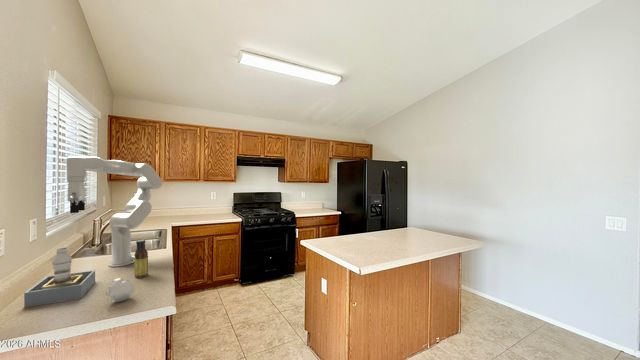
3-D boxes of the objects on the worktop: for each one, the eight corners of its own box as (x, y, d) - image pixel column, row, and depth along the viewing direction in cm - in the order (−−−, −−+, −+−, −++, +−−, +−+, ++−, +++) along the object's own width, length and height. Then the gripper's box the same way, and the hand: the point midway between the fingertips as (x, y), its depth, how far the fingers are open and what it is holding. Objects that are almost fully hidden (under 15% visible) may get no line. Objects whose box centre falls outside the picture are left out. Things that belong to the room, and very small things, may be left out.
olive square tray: (83, 284, 127) (83, 274, 127) (74, 293, 118) (74, 282, 117) (52, 288, 122) (52, 278, 122) (41, 298, 112) (41, 287, 112)
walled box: (95, 281, 133) (95, 270, 133) (81, 298, 115) (81, 284, 115) (47, 288, 125) (47, 276, 124) (24, 307, 107) (24, 293, 107)
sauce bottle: (139, 274, 143) (138, 238, 143) (150, 273, 144) (150, 238, 144) (131, 278, 137) (131, 241, 137) (143, 278, 137) (143, 241, 137)
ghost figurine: (111, 298, 115) (111, 275, 115) (136, 294, 119) (136, 273, 119) (102, 307, 107) (102, 283, 107) (129, 303, 110) (129, 280, 110)
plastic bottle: (76, 289, 121) (75, 247, 121) (57, 296, 115) (57, 251, 115) (67, 287, 123) (67, 246, 123) (48, 293, 117) (48, 250, 117)
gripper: (73, 179, 143) (74, 209, 144) (60, 180, 128) (61, 214, 128) (90, 179, 147) (91, 209, 147) (80, 179, 131) (81, 213, 132)
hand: (77, 211), depth 138 cm, fingers open, 9 cm apart
